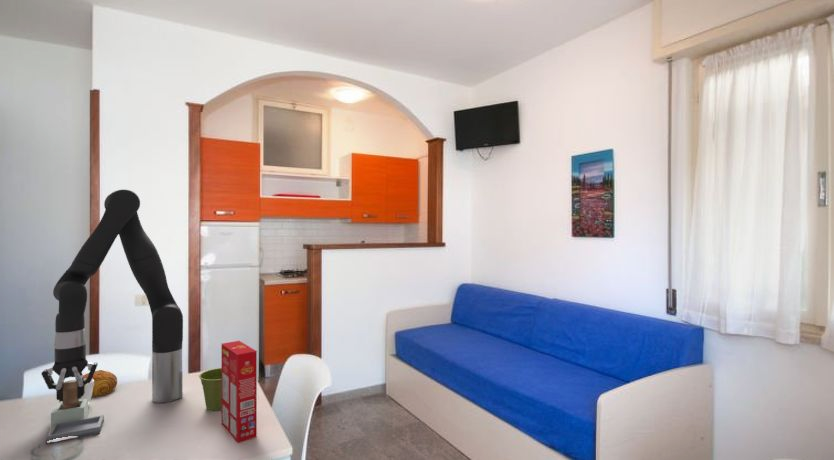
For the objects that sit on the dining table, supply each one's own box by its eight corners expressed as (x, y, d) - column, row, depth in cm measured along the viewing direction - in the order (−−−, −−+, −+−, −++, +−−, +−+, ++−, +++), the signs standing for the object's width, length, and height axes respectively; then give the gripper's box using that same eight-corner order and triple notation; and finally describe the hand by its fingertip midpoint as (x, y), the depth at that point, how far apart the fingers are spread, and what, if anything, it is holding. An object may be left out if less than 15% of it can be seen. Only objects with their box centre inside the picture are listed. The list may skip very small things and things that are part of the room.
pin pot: (88, 413, 136) (88, 398, 136) (83, 423, 129) (83, 407, 129) (57, 419, 132) (57, 403, 132) (50, 429, 125) (50, 413, 125)
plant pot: (204, 417, 133) (204, 382, 133) (194, 405, 142) (194, 372, 142) (242, 407, 141) (242, 374, 141) (231, 396, 150) (231, 365, 150)
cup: (76, 411, 137) (76, 387, 137) (58, 406, 141) (57, 383, 141) (99, 403, 144) (99, 380, 144) (81, 398, 148) (81, 376, 147)
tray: (103, 421, 131) (103, 414, 131) (99, 433, 123) (99, 426, 123) (54, 430, 125) (53, 423, 125) (46, 444, 117) (46, 436, 117)
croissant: (114, 386, 165) (114, 366, 166) (119, 392, 153) (120, 370, 154) (66, 395, 155) (67, 373, 156) (68, 402, 144) (69, 378, 145)
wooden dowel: (80, 416, 133) (80, 378, 133) (77, 421, 130) (77, 383, 130) (64, 419, 131) (63, 381, 131) (61, 424, 128) (60, 385, 128)
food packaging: (256, 436, 121) (256, 351, 121) (237, 443, 118) (237, 354, 118) (239, 419, 132) (239, 340, 132) (221, 424, 129) (221, 343, 129)
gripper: (100, 338, 137) (100, 390, 137) (43, 344, 130) (43, 399, 130) (97, 344, 131) (97, 398, 131) (36, 350, 123) (37, 408, 123)
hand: (70, 398), depth 130 cm, fingers closed on wooden dowel, 4 cm apart
